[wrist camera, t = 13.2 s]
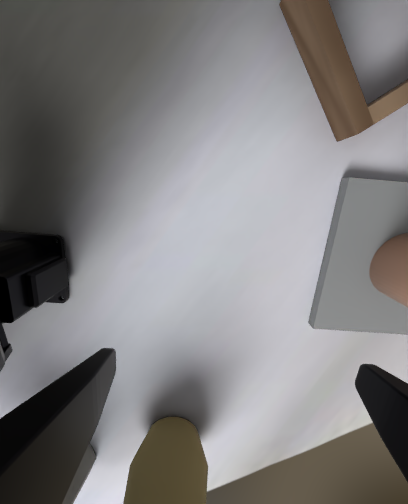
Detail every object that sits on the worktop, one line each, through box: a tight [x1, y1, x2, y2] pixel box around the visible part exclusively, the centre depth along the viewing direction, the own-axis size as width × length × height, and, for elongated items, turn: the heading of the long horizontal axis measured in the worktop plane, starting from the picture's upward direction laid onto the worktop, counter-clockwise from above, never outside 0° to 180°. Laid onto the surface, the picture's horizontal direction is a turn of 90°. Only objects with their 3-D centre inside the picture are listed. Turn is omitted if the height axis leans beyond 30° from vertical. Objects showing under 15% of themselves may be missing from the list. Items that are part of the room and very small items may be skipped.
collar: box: [279, 0, 408, 142], centre depth 15 cm, size 10×10×2 cm
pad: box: [308, 177, 408, 335], centre depth 20 cm, size 14×14×1 cm
